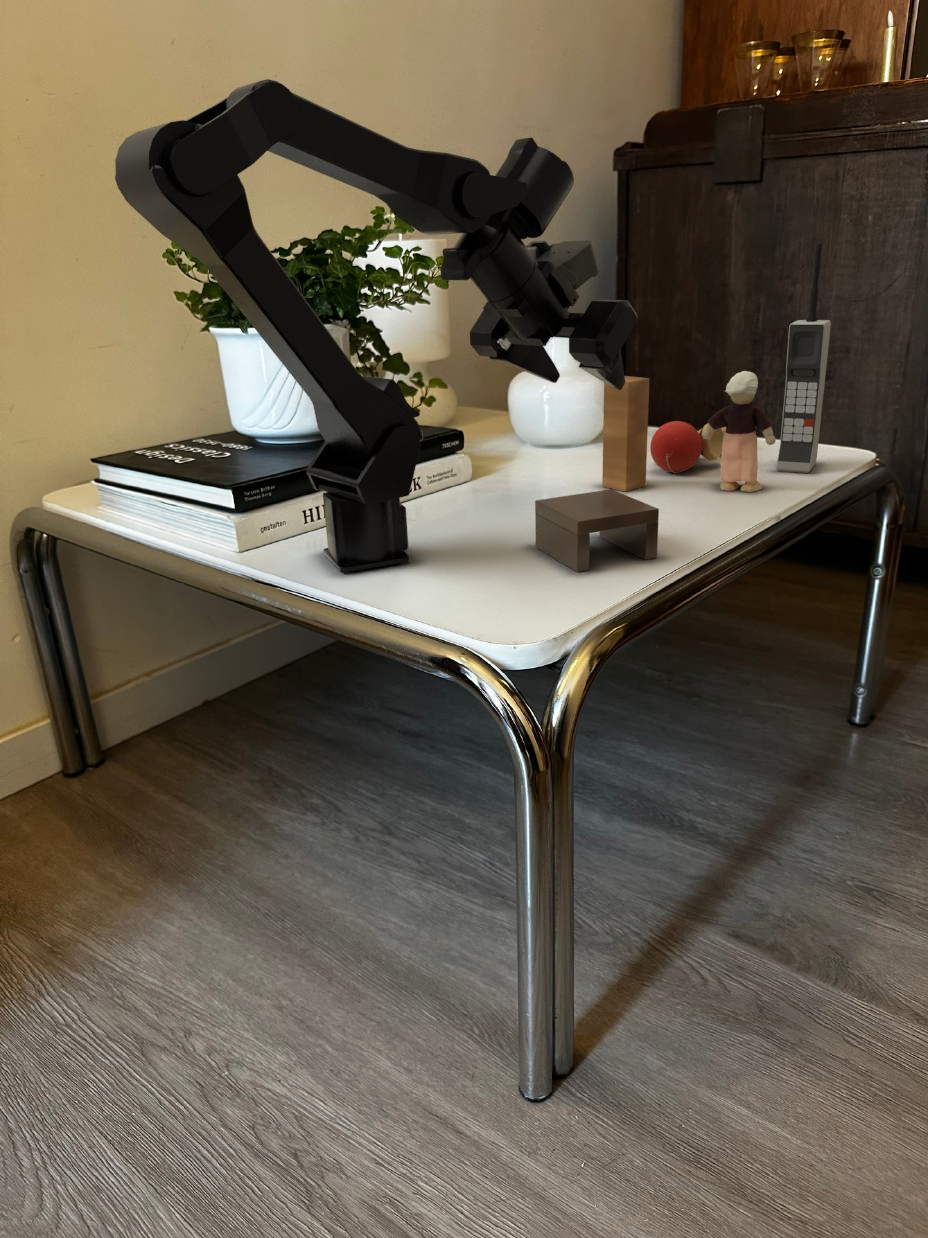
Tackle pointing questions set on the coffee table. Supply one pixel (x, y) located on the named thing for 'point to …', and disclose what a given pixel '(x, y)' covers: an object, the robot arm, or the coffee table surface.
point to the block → (625, 434)
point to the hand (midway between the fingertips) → (588, 382)
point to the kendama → (684, 446)
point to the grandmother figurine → (740, 434)
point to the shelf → (594, 526)
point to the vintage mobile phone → (804, 386)
